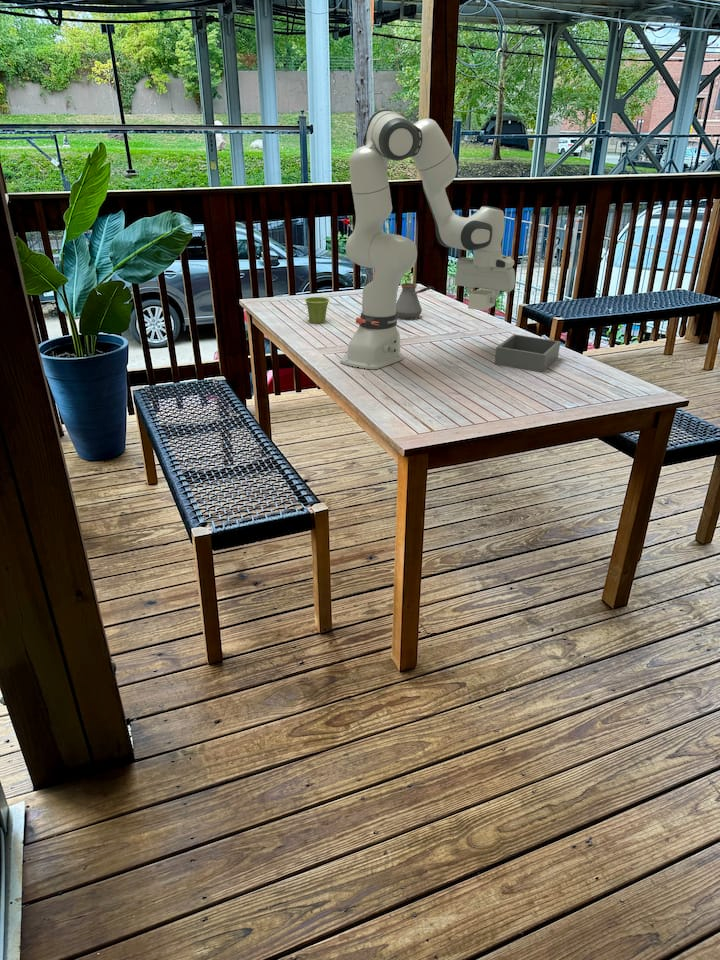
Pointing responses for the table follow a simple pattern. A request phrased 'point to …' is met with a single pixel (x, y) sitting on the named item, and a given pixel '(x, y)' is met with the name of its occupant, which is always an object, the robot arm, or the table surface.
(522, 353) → the big crate
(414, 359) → the table surface
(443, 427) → the table surface
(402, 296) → the coffee pot
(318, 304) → the plant pot
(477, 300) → the small crate
